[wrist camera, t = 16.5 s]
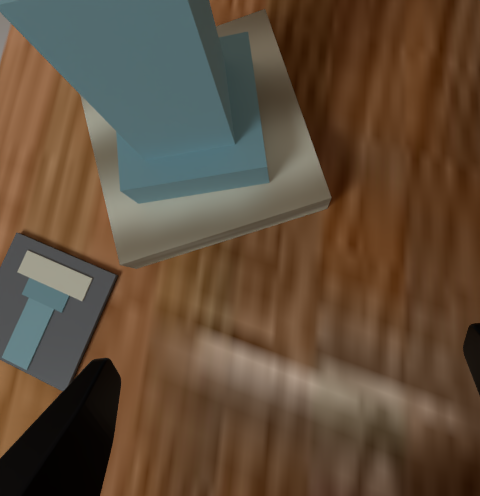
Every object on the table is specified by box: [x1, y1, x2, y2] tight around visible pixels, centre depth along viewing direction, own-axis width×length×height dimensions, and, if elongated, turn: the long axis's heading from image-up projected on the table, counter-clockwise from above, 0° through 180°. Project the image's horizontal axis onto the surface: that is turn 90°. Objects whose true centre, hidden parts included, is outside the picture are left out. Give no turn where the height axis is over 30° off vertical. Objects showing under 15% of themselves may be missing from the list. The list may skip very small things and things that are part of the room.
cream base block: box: [81, 9, 331, 269], centre depth 24 cm, size 13×13×3 cm
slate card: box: [0, 233, 118, 391], centre depth 25 cm, size 8×8×1 cm
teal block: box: [0, 0, 270, 204], centre depth 16 cm, size 8×8×13 cm
